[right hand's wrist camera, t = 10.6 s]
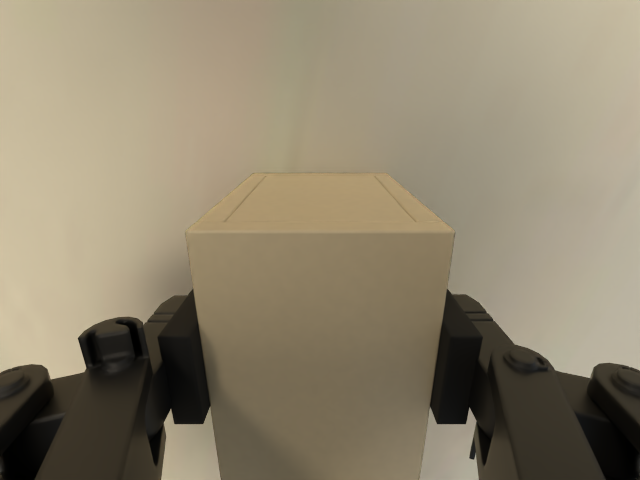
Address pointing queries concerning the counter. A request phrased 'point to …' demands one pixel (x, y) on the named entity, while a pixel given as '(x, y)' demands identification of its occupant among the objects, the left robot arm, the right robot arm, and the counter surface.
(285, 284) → the cabinet
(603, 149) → the counter surface
